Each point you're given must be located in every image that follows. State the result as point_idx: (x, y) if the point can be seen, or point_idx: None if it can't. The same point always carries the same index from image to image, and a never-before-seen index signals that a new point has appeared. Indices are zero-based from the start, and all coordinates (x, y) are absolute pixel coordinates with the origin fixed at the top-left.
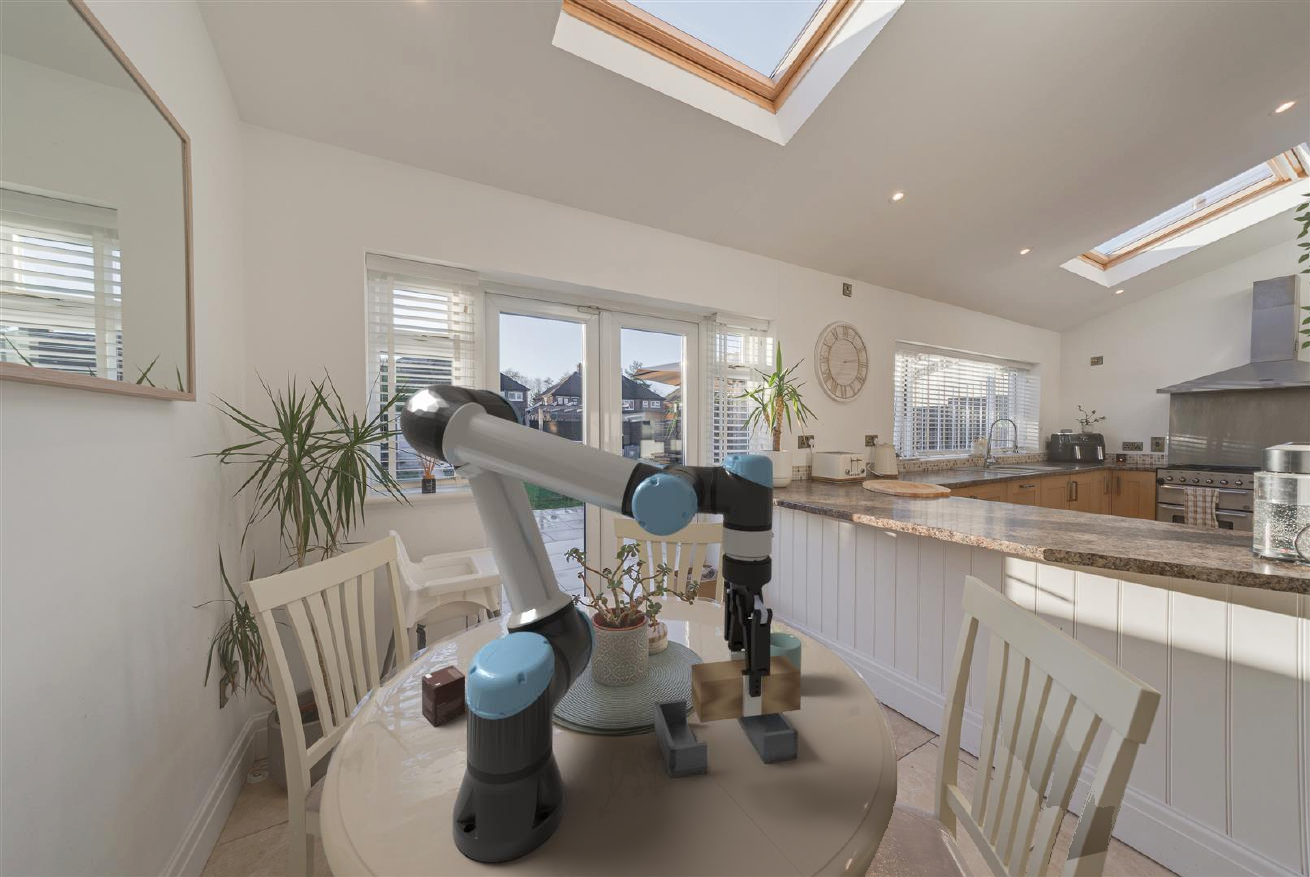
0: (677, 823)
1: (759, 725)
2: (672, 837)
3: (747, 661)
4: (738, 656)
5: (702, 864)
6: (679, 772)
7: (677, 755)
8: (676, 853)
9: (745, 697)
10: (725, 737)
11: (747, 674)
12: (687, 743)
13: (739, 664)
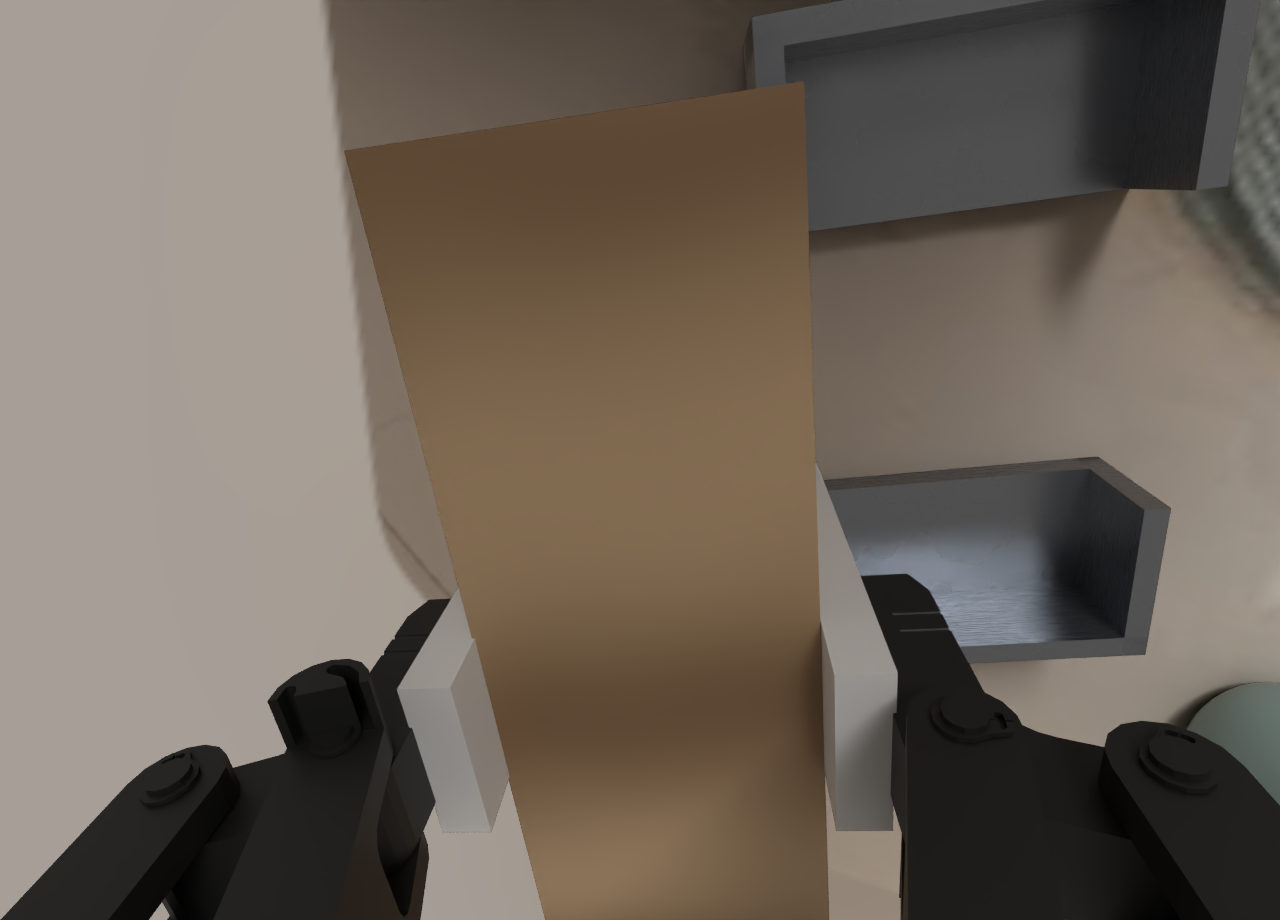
0: (503, 55)
1: (971, 540)
2: (440, 23)
3: (286, 830)
4: (830, 725)
5: (344, 135)
6: None
7: (752, 69)
8: (376, 34)
9: None
10: (960, 373)
11: (298, 710)
12: (929, 165)
13: (726, 679)
